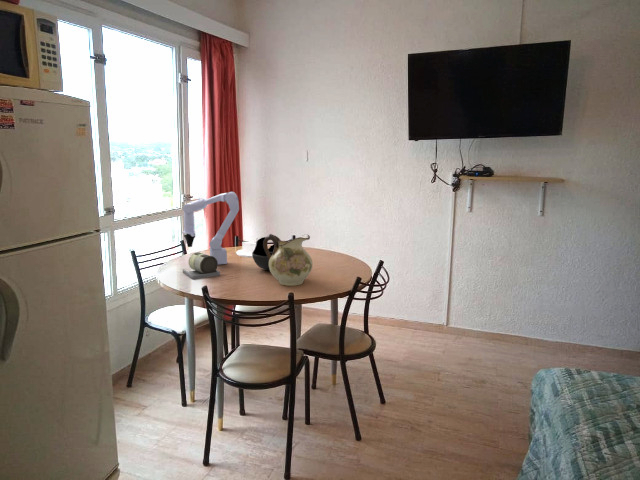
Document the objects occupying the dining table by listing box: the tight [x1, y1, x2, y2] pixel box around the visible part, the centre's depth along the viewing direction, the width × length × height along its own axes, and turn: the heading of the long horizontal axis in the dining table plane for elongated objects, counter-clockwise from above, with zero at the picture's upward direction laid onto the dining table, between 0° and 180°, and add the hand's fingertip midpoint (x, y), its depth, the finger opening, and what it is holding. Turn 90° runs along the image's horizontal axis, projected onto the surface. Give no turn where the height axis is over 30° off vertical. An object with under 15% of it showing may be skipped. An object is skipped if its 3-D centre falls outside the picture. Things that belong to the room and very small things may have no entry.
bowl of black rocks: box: [252, 236, 279, 271], centre depth 257 cm, size 20×20×19 cm
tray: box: [182, 268, 221, 280], centre depth 249 cm, size 15×16×2 cm
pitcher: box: [263, 233, 313, 287], centre depth 232 cm, size 22×24×25 cm
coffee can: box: [188, 251, 219, 274], centre depth 250 cm, size 10×10×14 cm
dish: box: [236, 236, 263, 258], centre depth 300 cm, size 25×25×11 cm
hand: (189, 246), depth 269 cm, fingers closed
